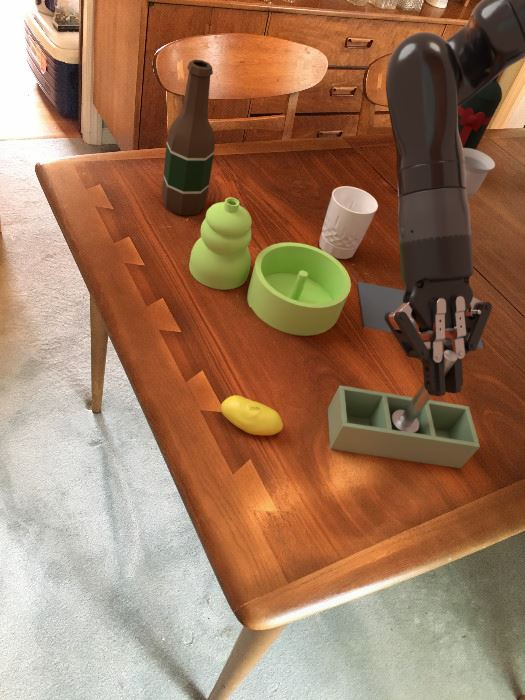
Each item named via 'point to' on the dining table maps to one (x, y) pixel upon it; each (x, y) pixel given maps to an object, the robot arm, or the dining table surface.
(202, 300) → the dining table surface
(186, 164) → the beer bottle
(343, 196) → the white cup
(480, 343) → the mat
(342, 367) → the dining table surface
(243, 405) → the yellow potato
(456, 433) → the caddy
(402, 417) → the metal rod stand
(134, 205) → the dining table surface
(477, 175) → the chalice
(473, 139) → the wine bottle
